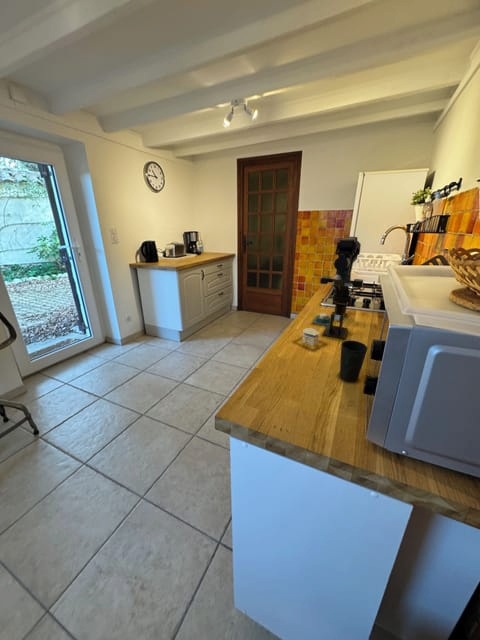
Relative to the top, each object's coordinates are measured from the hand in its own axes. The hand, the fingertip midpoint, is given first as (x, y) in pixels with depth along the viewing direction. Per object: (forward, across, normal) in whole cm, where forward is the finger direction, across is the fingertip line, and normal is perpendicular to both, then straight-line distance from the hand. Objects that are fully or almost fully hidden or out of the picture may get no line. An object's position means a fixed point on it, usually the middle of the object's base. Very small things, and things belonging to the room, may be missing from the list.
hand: (338, 298), depth 124 cm
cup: (+13, +12, -47) cm, 50 cm away
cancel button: (+10, -6, -2) cm, 12 cm away
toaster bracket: (+13, +2, -13) cm, 18 cm away
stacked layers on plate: (+13, -6, -28) cm, 31 cm away
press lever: (+8, +2, -9) cm, 12 cm away
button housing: (+13, -6, -2) cm, 14 cm away
